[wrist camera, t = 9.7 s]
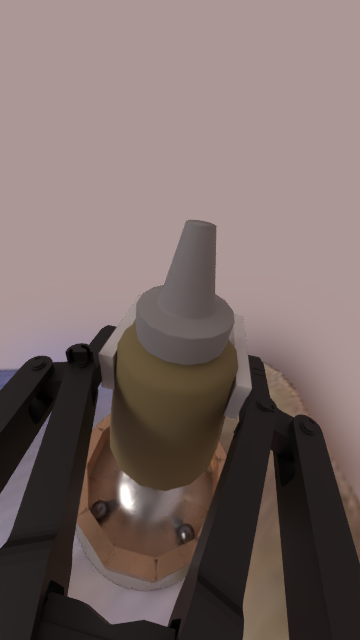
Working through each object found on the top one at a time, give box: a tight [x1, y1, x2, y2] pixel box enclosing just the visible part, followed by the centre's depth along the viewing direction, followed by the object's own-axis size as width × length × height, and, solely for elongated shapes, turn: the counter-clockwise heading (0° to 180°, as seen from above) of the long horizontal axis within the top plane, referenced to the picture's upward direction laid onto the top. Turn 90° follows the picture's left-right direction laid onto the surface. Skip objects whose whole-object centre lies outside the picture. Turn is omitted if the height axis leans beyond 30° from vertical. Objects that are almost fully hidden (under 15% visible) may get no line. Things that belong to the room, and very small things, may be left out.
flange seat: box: [76, 414, 227, 591], centre depth 22 cm, size 15×15×4 cm
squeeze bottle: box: [110, 220, 238, 491], centre depth 13 cm, size 8×8×18 cm
